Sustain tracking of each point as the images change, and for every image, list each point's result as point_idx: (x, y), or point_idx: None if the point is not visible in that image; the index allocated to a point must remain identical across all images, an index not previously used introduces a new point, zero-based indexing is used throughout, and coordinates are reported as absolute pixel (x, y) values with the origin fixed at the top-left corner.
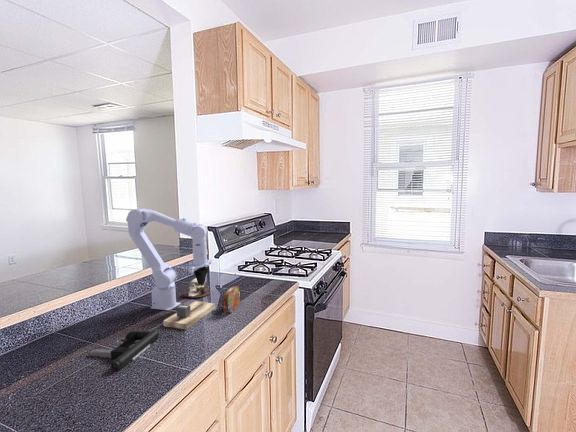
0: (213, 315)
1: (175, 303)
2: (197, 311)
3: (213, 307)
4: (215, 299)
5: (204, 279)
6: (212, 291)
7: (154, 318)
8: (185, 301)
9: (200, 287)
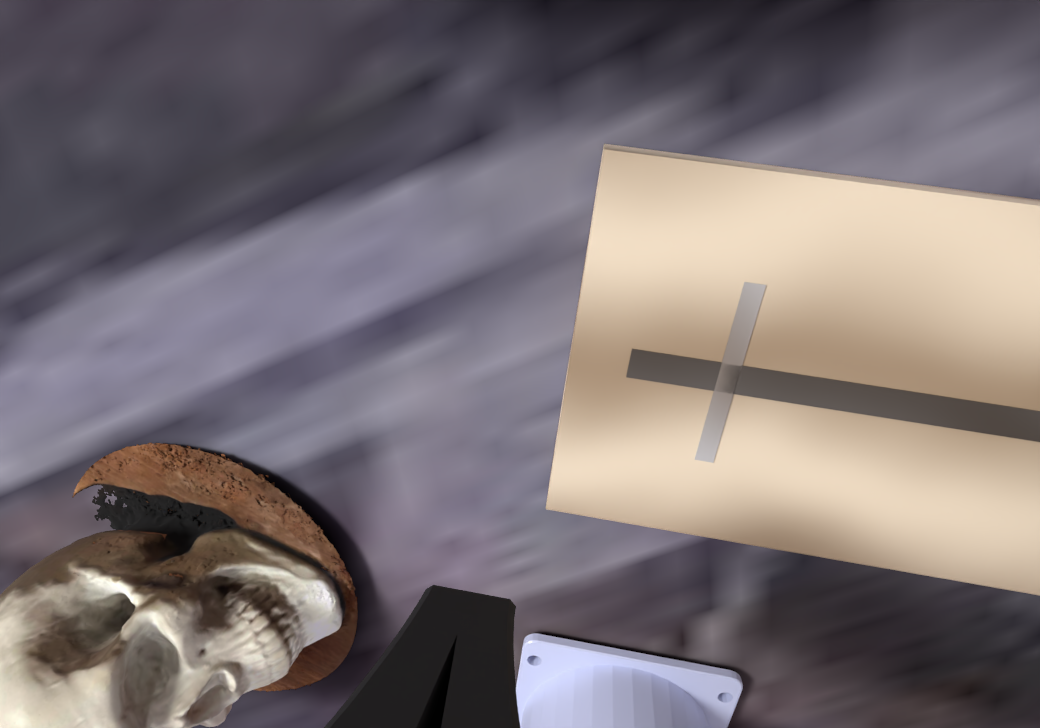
0: (922, 34)
1: (605, 683)
2: (983, 316)
3: (659, 153)
4: (280, 285)
5: (402, 700)
6: (54, 434)
7: (942, 723)
8: None
9: (161, 599)
